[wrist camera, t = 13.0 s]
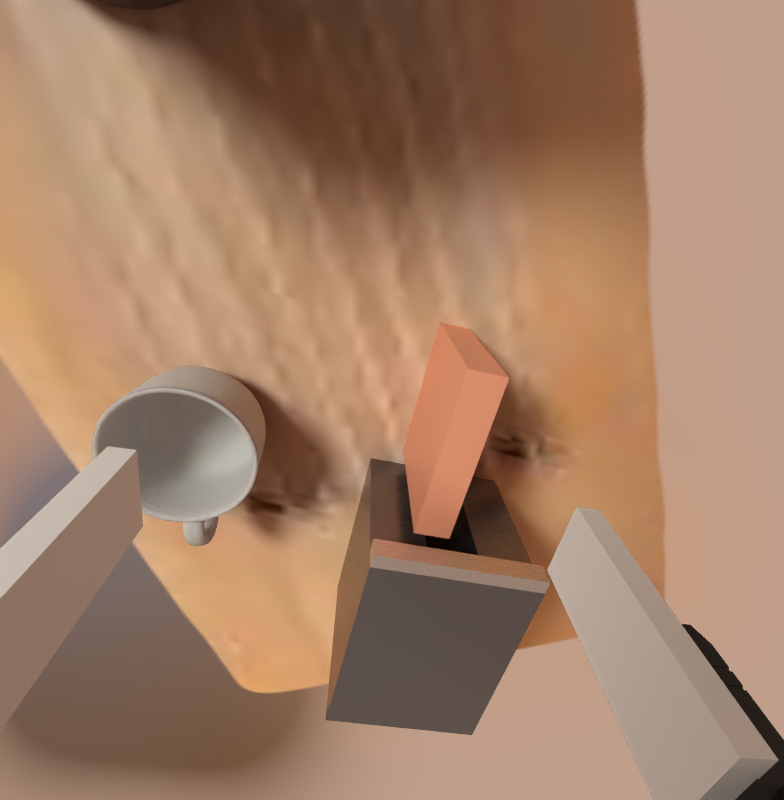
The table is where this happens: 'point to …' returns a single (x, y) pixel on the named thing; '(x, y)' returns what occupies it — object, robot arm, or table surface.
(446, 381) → the salmon orange rectangular slab
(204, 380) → the teacup
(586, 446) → the table surface
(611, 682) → the robot arm
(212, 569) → the table surface
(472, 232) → the table surface
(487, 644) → the block
